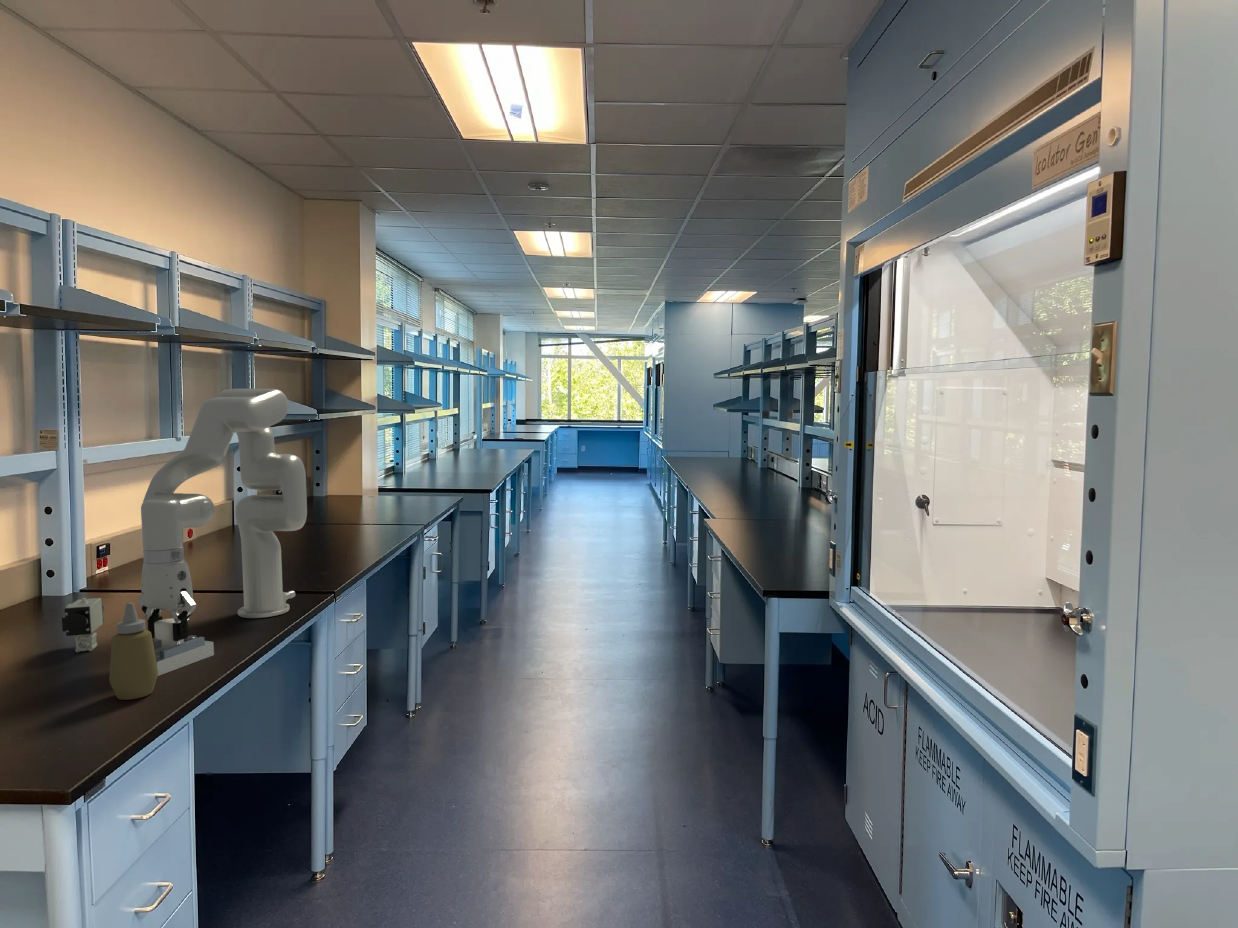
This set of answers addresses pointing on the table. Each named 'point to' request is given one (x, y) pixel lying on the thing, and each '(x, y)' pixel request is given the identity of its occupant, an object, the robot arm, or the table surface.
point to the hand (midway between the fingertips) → (168, 636)
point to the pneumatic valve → (83, 622)
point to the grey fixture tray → (183, 654)
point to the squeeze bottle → (132, 658)
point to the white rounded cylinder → (164, 635)
